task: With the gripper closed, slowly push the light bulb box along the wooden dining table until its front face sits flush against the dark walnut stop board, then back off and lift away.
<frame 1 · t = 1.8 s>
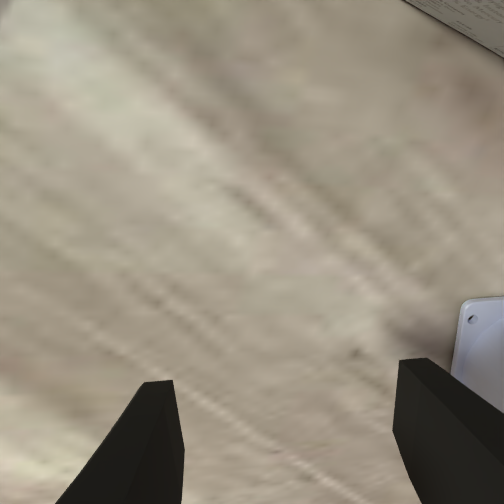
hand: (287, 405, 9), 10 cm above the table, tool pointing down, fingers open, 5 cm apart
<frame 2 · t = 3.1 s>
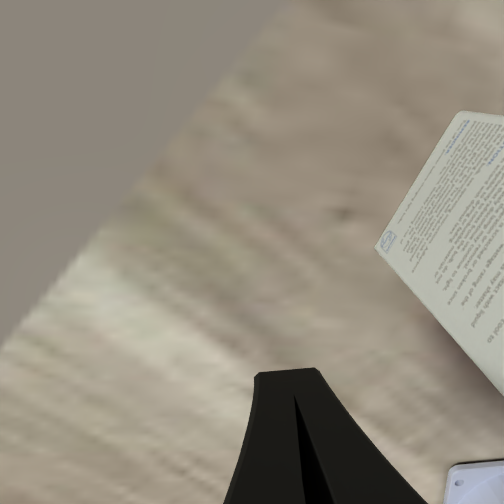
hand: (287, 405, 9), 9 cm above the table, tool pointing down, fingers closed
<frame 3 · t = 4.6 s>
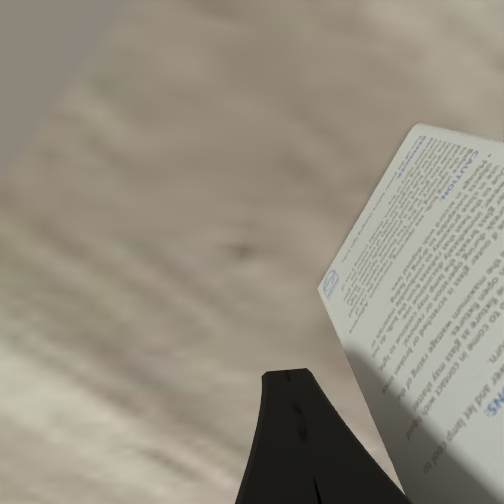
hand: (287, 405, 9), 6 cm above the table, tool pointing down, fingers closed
light bulb box: (478, 263, 15), on the table, touching gripper
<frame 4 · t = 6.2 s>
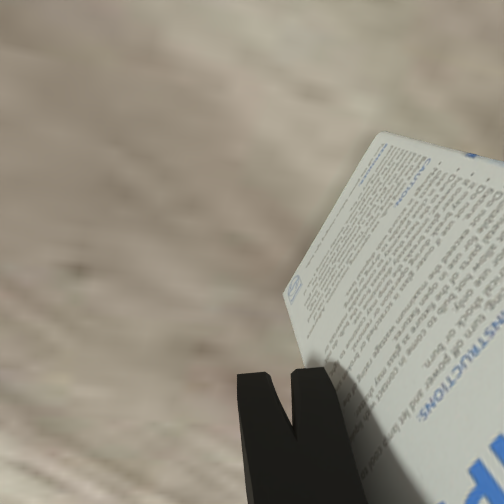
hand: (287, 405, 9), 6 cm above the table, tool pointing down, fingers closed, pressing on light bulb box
light bulb box: (443, 272, 15), on the table, touching gripper, walnut stop board
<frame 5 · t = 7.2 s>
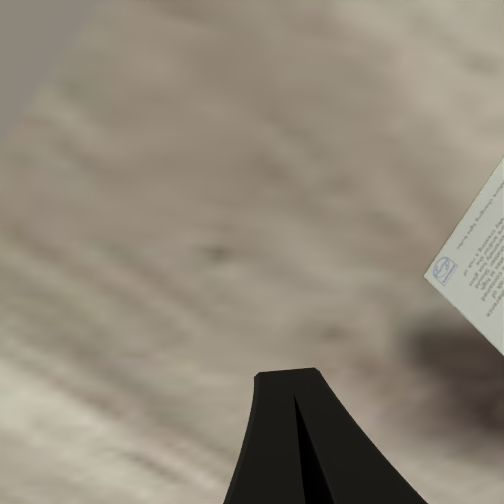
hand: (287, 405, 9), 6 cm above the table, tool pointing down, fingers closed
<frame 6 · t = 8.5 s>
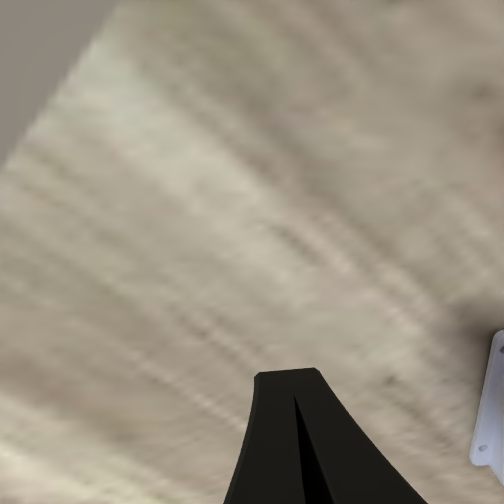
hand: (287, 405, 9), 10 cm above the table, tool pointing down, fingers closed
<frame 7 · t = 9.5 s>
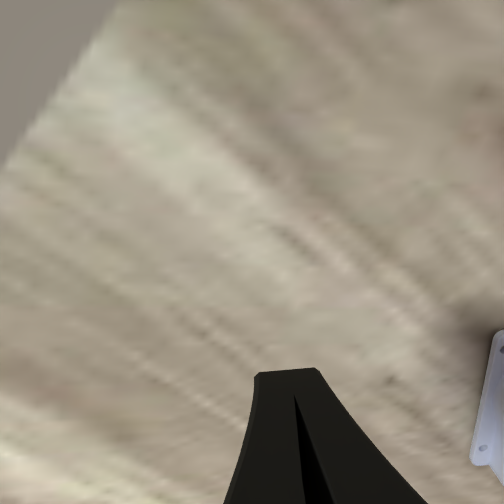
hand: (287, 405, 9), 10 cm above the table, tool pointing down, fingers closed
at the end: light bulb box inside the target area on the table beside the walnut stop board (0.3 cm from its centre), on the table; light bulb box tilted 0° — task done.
